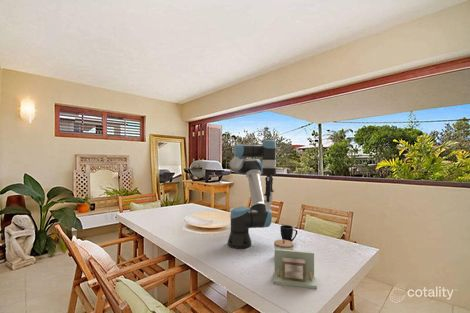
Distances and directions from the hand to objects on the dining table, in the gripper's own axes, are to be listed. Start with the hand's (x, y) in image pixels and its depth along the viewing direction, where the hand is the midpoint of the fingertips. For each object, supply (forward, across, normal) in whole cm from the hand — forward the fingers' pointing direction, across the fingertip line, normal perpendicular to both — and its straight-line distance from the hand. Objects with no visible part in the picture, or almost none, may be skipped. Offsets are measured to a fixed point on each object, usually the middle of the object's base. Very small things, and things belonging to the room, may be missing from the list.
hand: (269, 205), depth 127 cm
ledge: (+29, -22, -13) cm, 38 cm away
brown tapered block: (+28, -23, -13) cm, 38 cm away
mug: (+29, +28, -11) cm, 42 cm away
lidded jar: (+29, +3, -8) cm, 30 cm away
